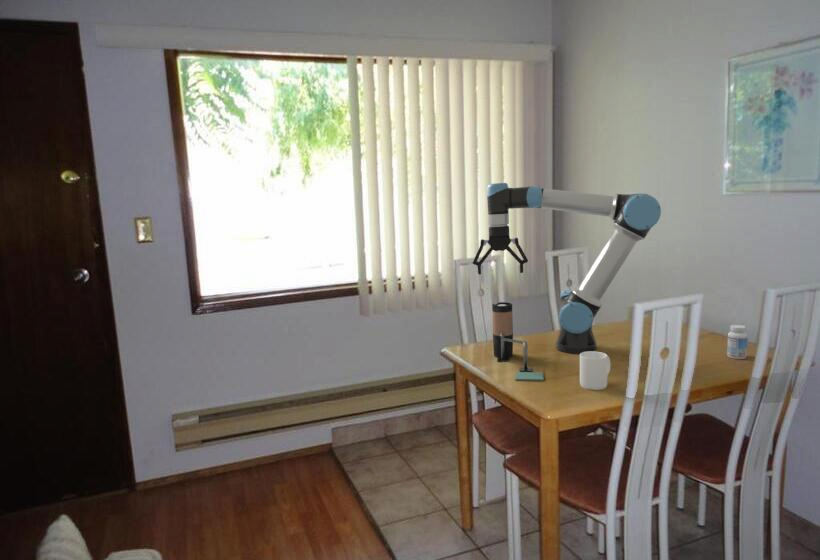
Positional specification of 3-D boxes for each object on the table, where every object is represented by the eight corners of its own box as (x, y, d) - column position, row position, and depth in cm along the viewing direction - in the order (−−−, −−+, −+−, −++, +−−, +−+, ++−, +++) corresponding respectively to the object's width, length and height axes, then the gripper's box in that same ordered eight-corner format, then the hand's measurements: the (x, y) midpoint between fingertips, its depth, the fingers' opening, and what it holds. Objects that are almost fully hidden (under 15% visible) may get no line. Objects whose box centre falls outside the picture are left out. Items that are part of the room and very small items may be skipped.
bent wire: (530, 358, 207) (529, 331, 205) (531, 372, 191) (531, 343, 190) (497, 358, 209) (497, 331, 207) (496, 372, 194) (495, 343, 192)
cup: (574, 385, 177) (574, 354, 176) (599, 377, 184) (599, 347, 182) (595, 392, 170) (595, 360, 169) (620, 383, 177) (620, 353, 175)
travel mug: (513, 358, 208) (512, 306, 205) (492, 358, 210) (491, 306, 207) (513, 352, 216) (512, 302, 212) (493, 352, 217) (492, 302, 214)
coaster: (542, 374, 189) (542, 372, 189) (543, 380, 182) (543, 379, 182) (515, 373, 191) (515, 372, 191) (515, 380, 184) (515, 378, 184)
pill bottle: (745, 355, 199) (747, 324, 197) (747, 360, 194) (749, 328, 192) (726, 354, 202) (727, 323, 200) (727, 358, 196) (729, 327, 194)
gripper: (532, 223, 206) (534, 279, 210) (465, 226, 211) (468, 281, 214) (533, 224, 199) (535, 282, 202) (464, 228, 203) (466, 285, 207)
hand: (500, 282), depth 208 cm, fingers open, 13 cm apart
